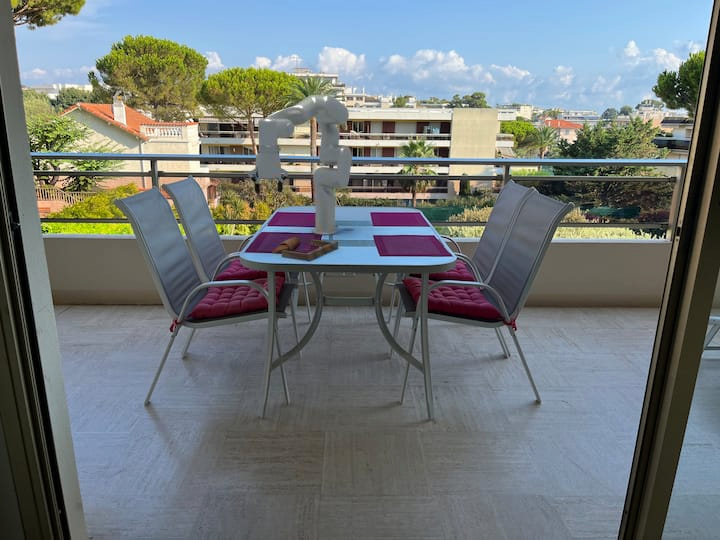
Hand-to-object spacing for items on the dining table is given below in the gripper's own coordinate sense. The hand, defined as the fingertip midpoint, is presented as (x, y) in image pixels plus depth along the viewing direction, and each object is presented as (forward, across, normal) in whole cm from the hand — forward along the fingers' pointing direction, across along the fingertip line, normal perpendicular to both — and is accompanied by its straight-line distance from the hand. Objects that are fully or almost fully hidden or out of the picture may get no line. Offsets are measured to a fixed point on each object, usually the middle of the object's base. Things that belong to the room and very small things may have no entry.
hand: (268, 192), depth 220 cm
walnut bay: (+24, -14, +12) cm, 30 cm away
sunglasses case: (+25, -7, +2) cm, 26 cm away
